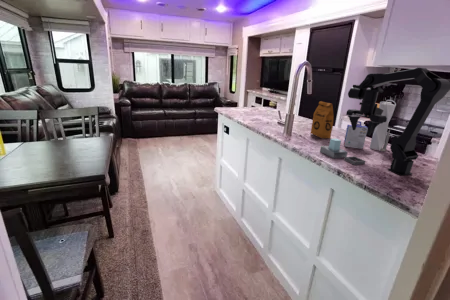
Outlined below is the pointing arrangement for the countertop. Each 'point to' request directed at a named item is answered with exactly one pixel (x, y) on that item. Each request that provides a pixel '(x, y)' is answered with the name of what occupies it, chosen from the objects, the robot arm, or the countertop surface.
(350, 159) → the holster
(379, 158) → the countertop surface
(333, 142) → the plug
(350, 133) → the ink cartridge box
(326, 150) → the socket
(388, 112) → the skyscraper
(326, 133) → the coffee package
